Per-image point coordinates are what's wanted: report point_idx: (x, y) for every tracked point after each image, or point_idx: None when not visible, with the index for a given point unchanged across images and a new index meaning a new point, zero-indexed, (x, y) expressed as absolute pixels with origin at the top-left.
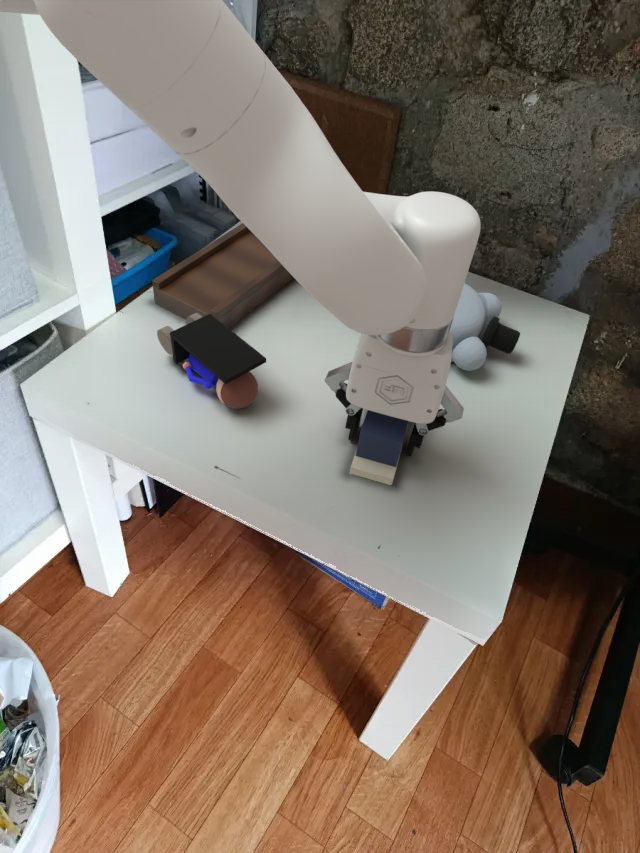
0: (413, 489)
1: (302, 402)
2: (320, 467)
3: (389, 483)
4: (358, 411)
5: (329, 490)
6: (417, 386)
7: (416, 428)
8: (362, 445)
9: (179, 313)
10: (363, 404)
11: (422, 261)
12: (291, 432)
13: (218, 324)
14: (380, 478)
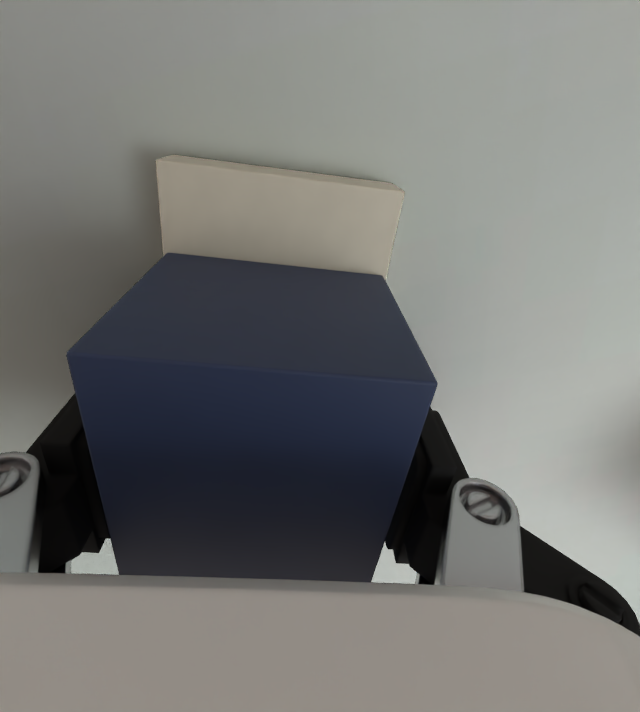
0: (57, 159)
1: (561, 474)
2: (533, 190)
3: (182, 157)
4: (429, 512)
5: (501, 26)
6: None
7: (63, 486)
8: (373, 310)
9: None
10: (521, 664)
11: None
12: (630, 350)
13: None
14: (233, 165)
